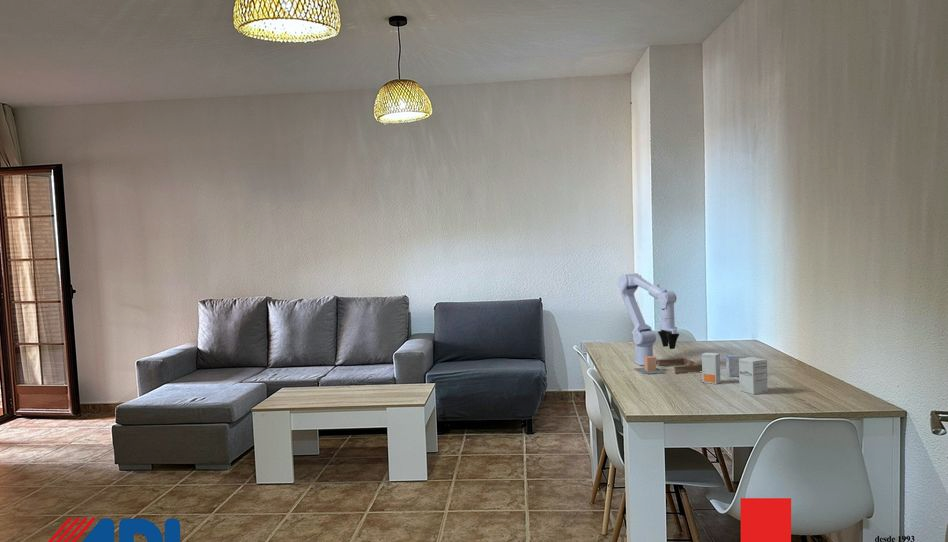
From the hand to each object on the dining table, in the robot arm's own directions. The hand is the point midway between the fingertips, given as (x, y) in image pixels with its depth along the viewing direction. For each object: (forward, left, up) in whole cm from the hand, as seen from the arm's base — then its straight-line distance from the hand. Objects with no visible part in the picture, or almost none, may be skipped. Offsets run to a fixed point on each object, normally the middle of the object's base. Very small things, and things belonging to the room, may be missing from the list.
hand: (668, 347), depth 318 cm
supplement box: (+55, +10, -10) cm, 57 cm away
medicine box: (+26, +19, -10) cm, 34 cm away
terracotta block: (+4, -11, -9) cm, 15 cm away
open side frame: (+4, +3, -9) cm, 11 cm away
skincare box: (+35, +3, -10) cm, 36 cm away
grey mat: (+4, -11, -9) cm, 15 cm away
